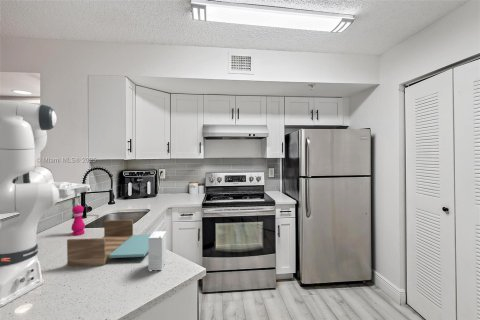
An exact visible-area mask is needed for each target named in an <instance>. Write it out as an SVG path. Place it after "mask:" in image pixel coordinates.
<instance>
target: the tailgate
mask: <svg viewBox="0 0 480 320" xmlns="http://www.w3.org/2000/svg"><path fill="white" fill-rule="evenodd" d="M151 234H152V233H151ZM151 234H150V233H149V234H147V233H146V234H133V236H131V237H130V238H129V239H128V240H127V241H125V242H124V243H123V244H122V245H121V246H119V247H118V248H117V249H116V250H115V251H113V252H112V253H111V254H110V255H109V258H112V259H113V258H114V259H115V258H116V259H117V258H139V257H140V258H142V257H143V258H144V257H146V255H147V254H148V250H149V237H150V236H151Z"/></svg>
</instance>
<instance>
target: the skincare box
mask: <svg viewBox="0 0 480 320" xmlns="http://www.w3.org/2000/svg"><path fill="white" fill-rule="evenodd" d="M147 254H148V261H147V262H148V266H147V269H148V270H161V269H162V270H164V268H165V265H166V263H165V261H166V262H167V231H165V230H161V231H157V230H156V231H153V232H152V233H151V236H150V237H149V250H148V253H147ZM164 264H165V265H164Z"/></svg>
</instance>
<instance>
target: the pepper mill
mask: <svg viewBox="0 0 480 320" xmlns="http://www.w3.org/2000/svg"><path fill="white" fill-rule="evenodd" d="M84 209H85V207H84V206H82V205H80V203H79V202H77V203H76V205H75V206H74V207H72V213H73V219H74V220H73V223H72V225H71V231H72V232H71V233H72V236H73V237H74V236H77V237H78V236H81V235H84V234H85V228H86V225H85V222H84V219H83V215H84V213H83V212H84Z"/></svg>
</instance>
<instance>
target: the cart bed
mask: <svg viewBox="0 0 480 320" xmlns="http://www.w3.org/2000/svg"><path fill="white" fill-rule="evenodd" d="M103 222H104V223H103V224H104V225H103V230H104V232H103V234H104V236H103V237H98V238H95V237H94V238H91V237H90V238H69V239H67V240H66V249H67V250H66V251H67V254H66V257H67V258H66V259H67V266H70V267H88V266H89V267H92V266H91V265H95V266H105V265H106V264H107V263H108V262H110V261H109V260H112V259H113V258H109V255H110V254H111V253H112V252H113V251H115V250H116V249H117V248H118V247H119V246H121V245H122V244H123V243H124V242H125V241H127V240H128V239H129V238H130V237H131V236H133V235H134V220H133V219H115V220H113V219H112V220H111V219H110V220H109V219H107V220H103Z"/></svg>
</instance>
